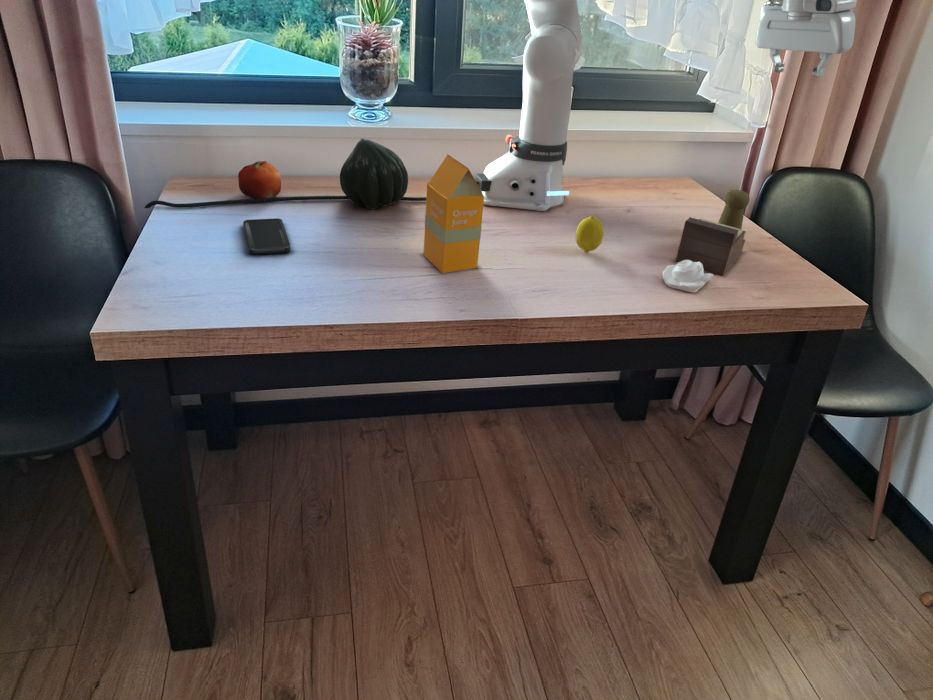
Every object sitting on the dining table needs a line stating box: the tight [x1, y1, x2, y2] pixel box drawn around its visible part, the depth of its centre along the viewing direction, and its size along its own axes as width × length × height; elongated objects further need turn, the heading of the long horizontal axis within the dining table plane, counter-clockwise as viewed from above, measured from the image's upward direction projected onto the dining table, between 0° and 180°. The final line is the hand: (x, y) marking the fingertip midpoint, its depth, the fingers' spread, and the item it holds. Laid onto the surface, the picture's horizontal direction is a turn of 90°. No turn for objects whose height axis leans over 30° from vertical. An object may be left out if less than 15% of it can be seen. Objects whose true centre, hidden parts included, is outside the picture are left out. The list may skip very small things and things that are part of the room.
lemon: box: [575, 215, 604, 254], centre depth 152 cm, size 6×6×8 cm
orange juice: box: [423, 153, 485, 274], centre depth 140 cm, size 8×9×20 cm
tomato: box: [237, 160, 282, 199], centre depth 164 cm, size 9×9×8 cm
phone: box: [242, 218, 291, 256], centre depth 147 cm, size 8×1×15 cm
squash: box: [339, 138, 409, 210], centre depth 166 cm, size 14×15×15 cm
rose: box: [662, 260, 714, 293], centre depth 144 cm, size 10×4×10 cm
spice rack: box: [675, 216, 746, 276], centre depth 155 cm, size 15×10×9 cm, turn 148°
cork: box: [717, 189, 751, 230], centre depth 164 cm, size 6×6×11 cm
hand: (797, 74), depth 152 cm, fingers open, 8 cm apart
